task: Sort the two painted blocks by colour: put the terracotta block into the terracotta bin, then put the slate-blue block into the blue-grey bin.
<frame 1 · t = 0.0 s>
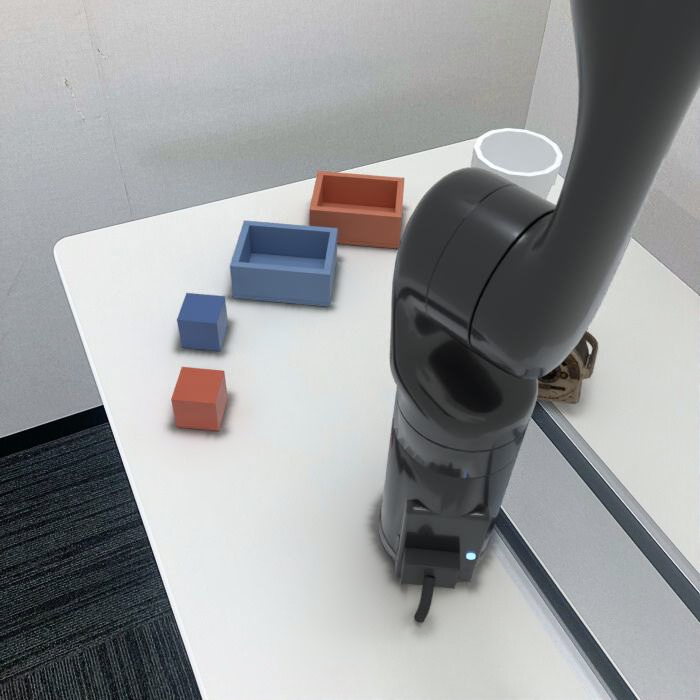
blue bin: (286, 278, 85), on the table
terracotta bin: (356, 224, 92), on the table
slate block: (205, 335, 78), on the table
foam cup: (496, 248, 90), on the table
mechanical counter: (553, 368, 77), on the table
terracotta block: (202, 412, 71), on the table
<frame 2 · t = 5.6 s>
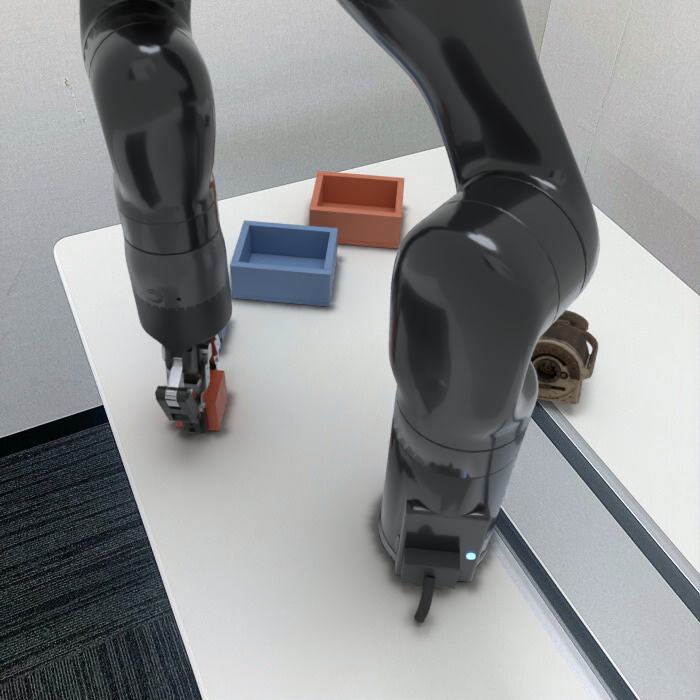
hand: (202, 410, 71), 0 cm above the table, tool pointing down, fingers closed on terracotta block, 4 cm apart
terracotta block: (202, 412, 71), on the table, touching gripper
everything else where it was.
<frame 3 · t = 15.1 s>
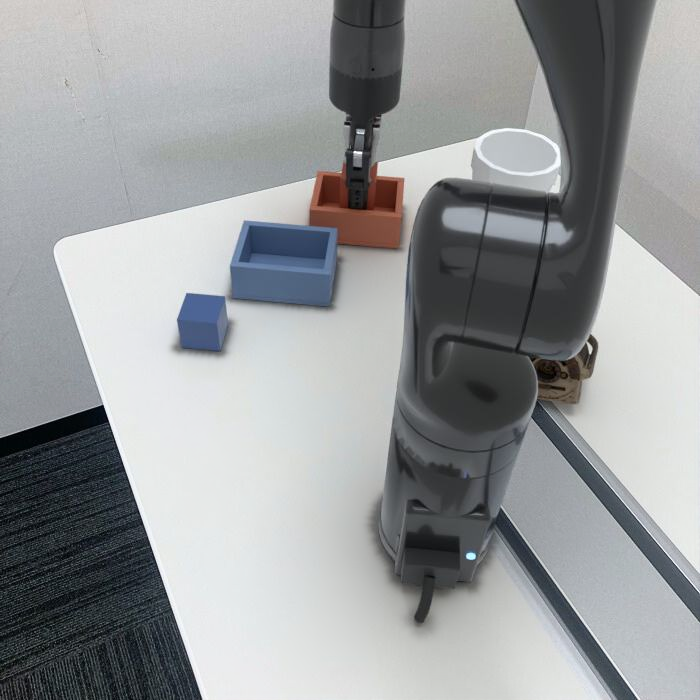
hand: (358, 197, 89), 4 cm above the table, tool pointing down, fingers closed on terracotta block, 4 cm apart
terracotta block: (357, 199, 89), point 4 cm above the table, touching gripper
everything else where it was.
when the fingers open (5 cm above the table, at t = 15.5 s): terracotta block drops 4 cm, resting on terracotta bin.
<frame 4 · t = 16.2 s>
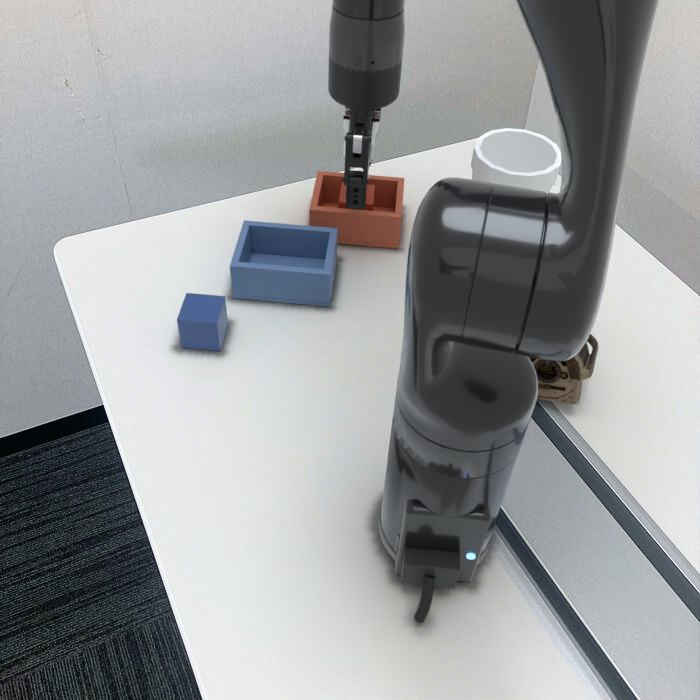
hand: (358, 186, 88), 6 cm above the table, tool pointing down, fingers open, 8 cm apart
terracotta block: (355, 220, 92), point 1 cm above the table, touching terracotta bin
everything else where it was.
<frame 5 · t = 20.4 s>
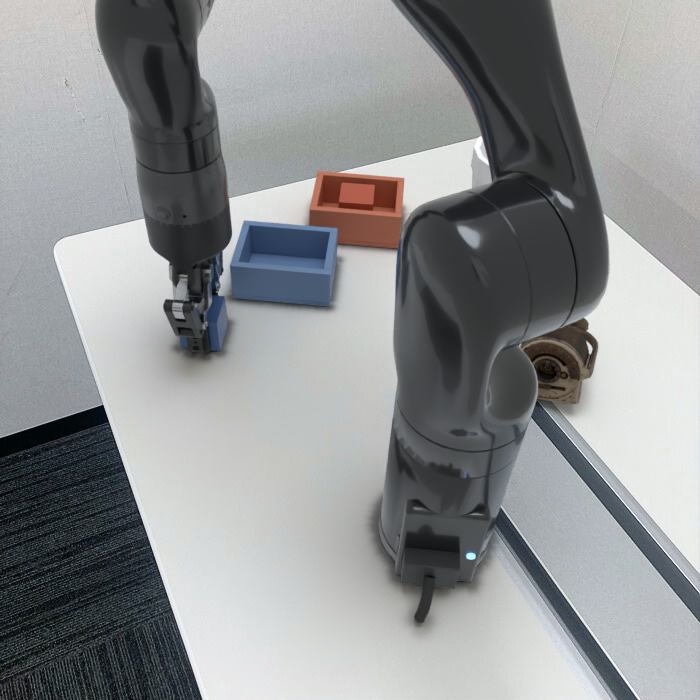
hand: (205, 333, 78), 0 cm above the table, tool pointing down, fingers closed on slate block, 4 cm apart
slate block: (205, 335, 78), on the table, touching gripper
everything else where it was.
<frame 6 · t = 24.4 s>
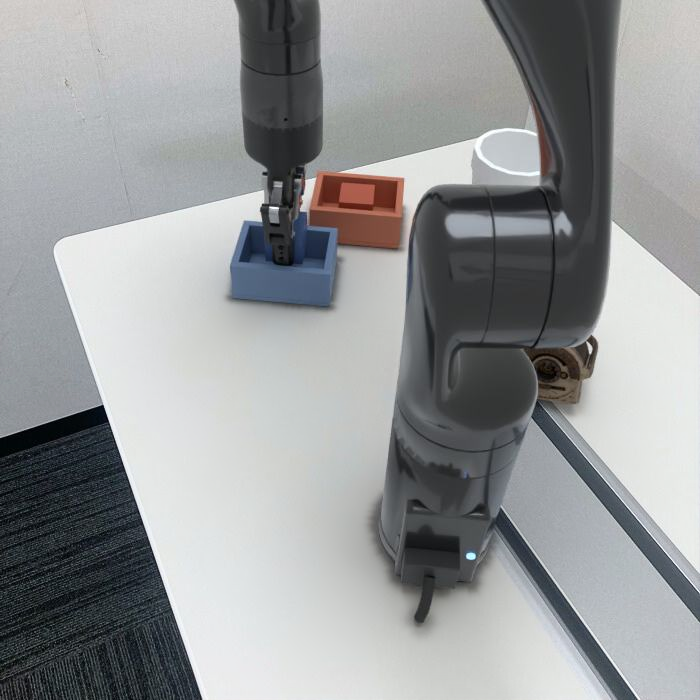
hand: (287, 249, 82), 4 cm above the table, tool pointing down, fingers closed on slate block, 4 cm apart
slate block: (286, 251, 82), point 4 cm above the table, touching gripper
everything else where it was.
when the fingers open (4 cm above the table, at t = 28.1 s): slate block drops 4 cm, resting on blue bin.
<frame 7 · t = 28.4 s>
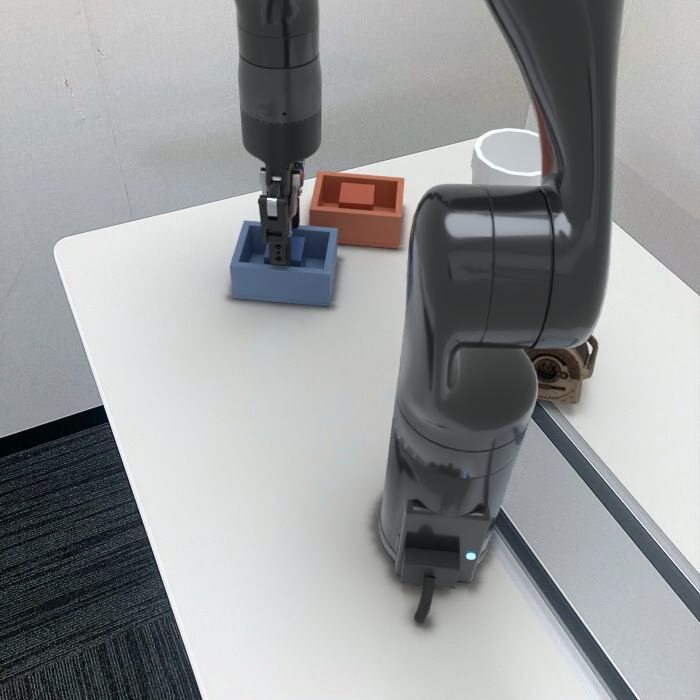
hand: (285, 243, 81), 5 cm above the table, tool pointing down, fingers open, 6 cm apart
slate block: (285, 275, 84), point 1 cm above the table, touching blue bin
everything else where it was.
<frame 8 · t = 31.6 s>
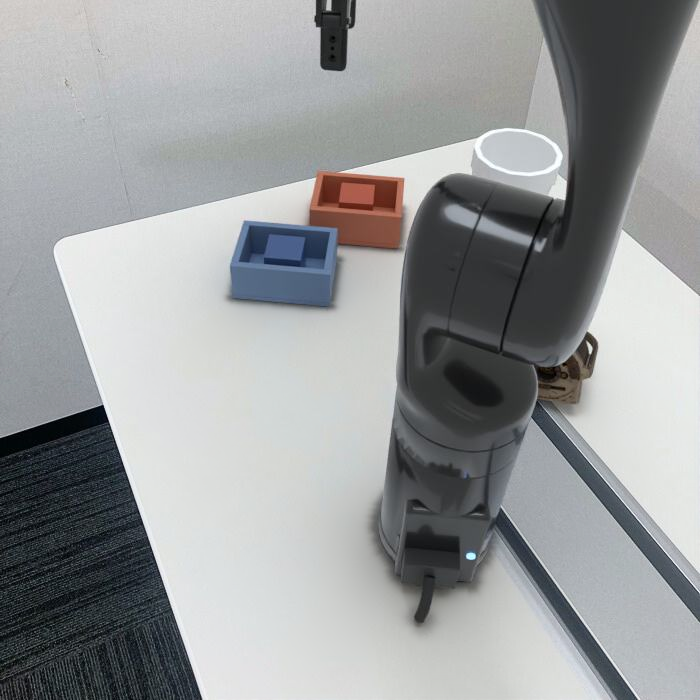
hand: (338, 46, 67), 26 cm above the table, tool pointing down, fingers open, 8 cm apart
nothing on the table moved.
at the end: terracotta block inside the target area in the terracotta bin (0.1 cm from its centre), point 0.6 cm above the terracotta bin's base; slate block inside the target area in the blue bin (0.1 cm from its centre), point 0.6 cm above the blue bin's base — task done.
